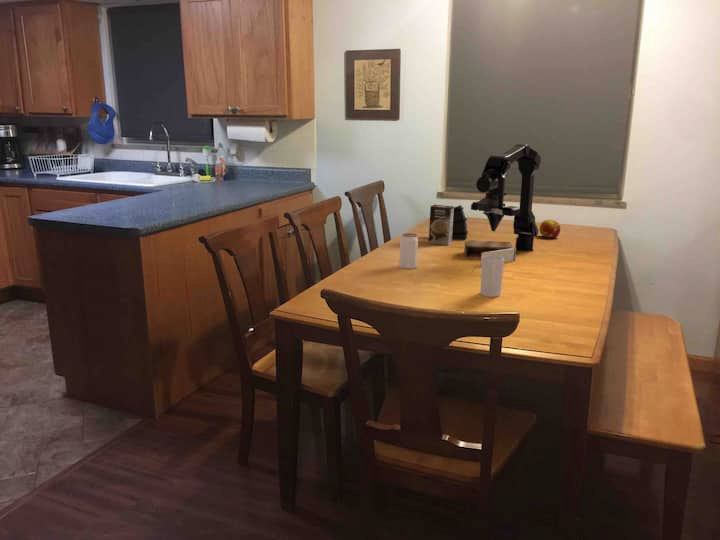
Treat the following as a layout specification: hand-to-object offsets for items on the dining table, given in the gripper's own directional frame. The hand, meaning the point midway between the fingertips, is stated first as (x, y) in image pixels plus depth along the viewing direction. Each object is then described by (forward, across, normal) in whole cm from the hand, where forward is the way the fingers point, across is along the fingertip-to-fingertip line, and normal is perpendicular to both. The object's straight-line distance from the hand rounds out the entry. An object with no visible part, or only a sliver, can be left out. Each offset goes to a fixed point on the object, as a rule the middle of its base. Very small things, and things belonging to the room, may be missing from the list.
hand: (493, 231), depth 230 cm
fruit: (+12, -10, +58) cm, 60 cm away
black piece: (+12, -37, +21) cm, 44 cm away
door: (+12, +4, 0) cm, 12 cm away
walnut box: (+12, -6, +6) cm, 15 cm away
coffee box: (+12, -34, +9) cm, 37 cm away
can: (+12, -14, -31) cm, 36 cm away
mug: (+12, +26, -36) cm, 46 cm away
